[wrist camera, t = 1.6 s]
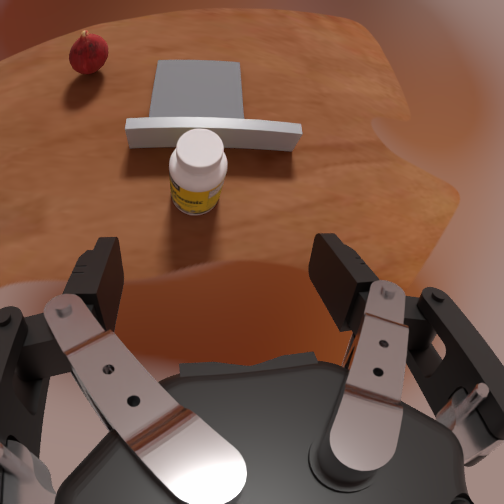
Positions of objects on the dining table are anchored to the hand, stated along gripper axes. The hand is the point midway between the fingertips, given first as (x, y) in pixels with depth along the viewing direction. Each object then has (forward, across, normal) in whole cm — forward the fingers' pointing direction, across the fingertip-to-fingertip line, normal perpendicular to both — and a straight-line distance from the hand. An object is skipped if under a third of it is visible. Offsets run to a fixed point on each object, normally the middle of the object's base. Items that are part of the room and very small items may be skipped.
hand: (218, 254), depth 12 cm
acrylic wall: (+27, -2, +1) cm, 27 cm away
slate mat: (+33, 0, -6) cm, 34 cm away
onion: (+37, +16, -9) cm, 41 cm away
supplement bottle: (+22, 0, +6) cm, 23 cm away
